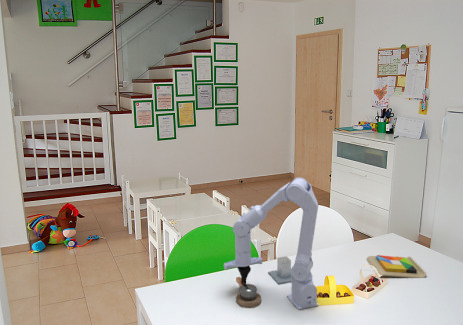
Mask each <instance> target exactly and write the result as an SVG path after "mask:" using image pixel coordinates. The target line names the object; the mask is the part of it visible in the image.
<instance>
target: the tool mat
mask: <svg viewBox="0 0 463 325" xmlns="http://www.w3.org/2000/svg"><path fill="white" fill-rule="evenodd" d="M267 274H268V275H269V276H270V277H271V278H272V280H274V281H275V282H276V284H277V285H284V284H291V283H292V275H291V277H287V278H281V277H280V276H279V275H278V274H277V269H276V270H272V271H271V270H270V271H268V272H267Z"/></svg>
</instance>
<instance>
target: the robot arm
mask: <svg viewBox="0 0 463 325" xmlns="http://www.w3.org/2000/svg"><path fill="white" fill-rule="evenodd" d="M289 201H290V202H292V203H294V204H295V205H297V206H299V207H300V209H302V218H301V226H300V230H299V232H300V233H299V240H298V244H297V245H298V246H297V253H296V257H295V260H294V263H293V266H291V275H292V282H291V294H287V295H286V298H288V300H289V301H290V302H291V303H292V304H293V305H294V306H295V307H296V308H297V309H298V310H304V309H308V308H313V307H317V306H319V305H320V304H319V303H318V301H317V298H318V297H317V296H318V289H317V287H316V285H315V284H314V281H313V274H312V272H311V270H312V268H313V266H314V261H313V258H312V255H313V252H312V250H313V242H314V238H315V230H316V224H317V218H318V211H319V203H318V200H317V197H316V196H315V193H314V191H313V188H312V184H310V182H309V181H307V179H305V178H304V177H295V178H293V180H291V182H290V181H289V182H288V183H287V184H285V185H283V186H282V187H280V188H279V189H278V190H277V191H276V192H274V193H273V194H272V195H271V196H270V197H269V198H268V199H267V200H265V201H264V203H262V204H261V205H260V204H257V205H256V204H255V205H252V206H250V207H249V210H248V211H247V212H246V213H245V214H241V215H240V217H239V219H238V220H236V221H235V223H233V225H232V226H233V227H232V232H233V233H234V236H235V237H234V238H235V239H234V243H235V244H234V245H235V246H234V248H235V259H233V260H230V261H228V262H224V263H223V268H224V270H225V271H228V270H229V269H234V268H235V269H237V270H238V273H239V275H240V277H241V279H242V280H243V282H245V284H247V280H248V279H247V278H248V276H249V274H250V273H251V270H252V267H251V266H252V265H258V264H259V265H262V264H263V258H262V257H261V256H260V257H259V256H258V257H252V247H251V246H252V239H251V236H252V234H251V231H252V229H254V228H255V227H257V226H258V225H260V223H262V222H263V221H265V219H267V215H268V214H267V213H268V212H270V211H271V210H272V209H273V208H274V207H276V206H277V205H279V203H281V202H289ZM317 303H318V304H317Z"/></svg>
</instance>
